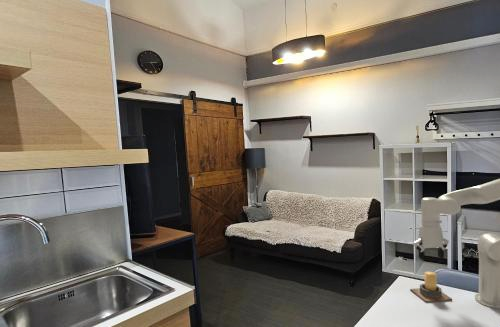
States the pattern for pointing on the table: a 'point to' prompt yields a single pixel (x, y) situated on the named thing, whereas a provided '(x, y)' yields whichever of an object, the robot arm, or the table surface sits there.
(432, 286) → the pale yellow cylinder
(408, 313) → the table surface
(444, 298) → the mount plate
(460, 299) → the table surface
